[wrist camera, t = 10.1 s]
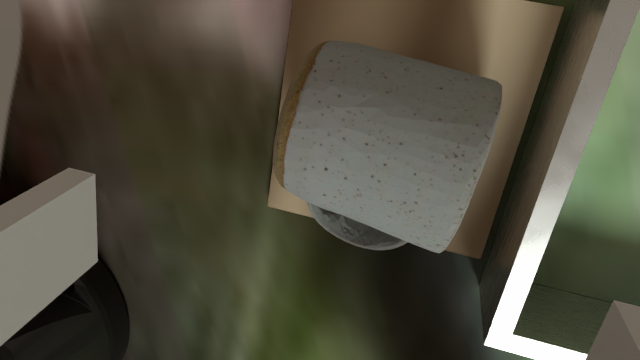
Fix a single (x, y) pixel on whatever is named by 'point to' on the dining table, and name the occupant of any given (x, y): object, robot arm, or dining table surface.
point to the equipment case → (553, 195)
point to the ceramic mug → (384, 144)
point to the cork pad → (449, 51)
